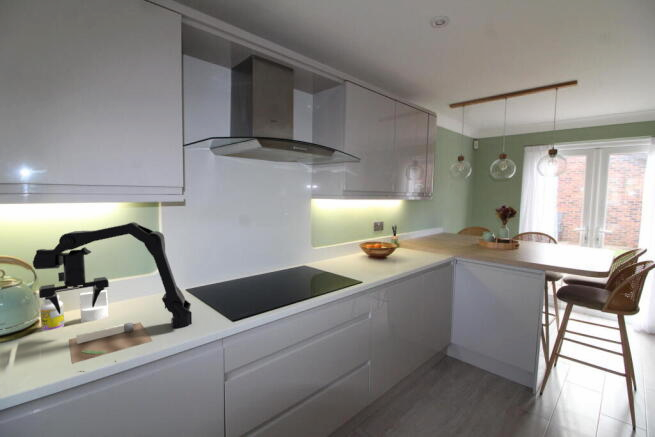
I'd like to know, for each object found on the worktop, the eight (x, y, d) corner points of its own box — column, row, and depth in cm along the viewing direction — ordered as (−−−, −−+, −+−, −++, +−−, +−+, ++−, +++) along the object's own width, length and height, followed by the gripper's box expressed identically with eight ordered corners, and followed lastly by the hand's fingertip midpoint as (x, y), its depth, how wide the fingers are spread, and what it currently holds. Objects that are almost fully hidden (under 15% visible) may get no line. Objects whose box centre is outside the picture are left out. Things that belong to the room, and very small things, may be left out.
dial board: (140, 325, 123) (140, 321, 122) (153, 344, 108) (152, 340, 108) (69, 343, 108) (68, 338, 108) (72, 368, 93) (72, 363, 93)
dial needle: (132, 328, 117) (132, 321, 117) (134, 331, 115) (133, 323, 114) (77, 342, 106) (76, 334, 105) (77, 345, 103) (77, 337, 103)
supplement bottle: (39, 329, 118) (37, 297, 117) (61, 323, 124) (59, 292, 123) (44, 334, 114) (42, 300, 113) (67, 327, 120) (65, 296, 119)
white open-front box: (80, 326, 121) (78, 297, 120) (82, 318, 128) (81, 291, 127) (107, 321, 126) (106, 293, 125) (108, 314, 133) (107, 287, 132)
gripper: (103, 259, 120) (105, 298, 121) (38, 267, 107) (41, 310, 108) (107, 265, 111) (109, 306, 113) (37, 273, 99) (40, 320, 100)
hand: (76, 310), depth 109 cm, fingers open, 9 cm apart
